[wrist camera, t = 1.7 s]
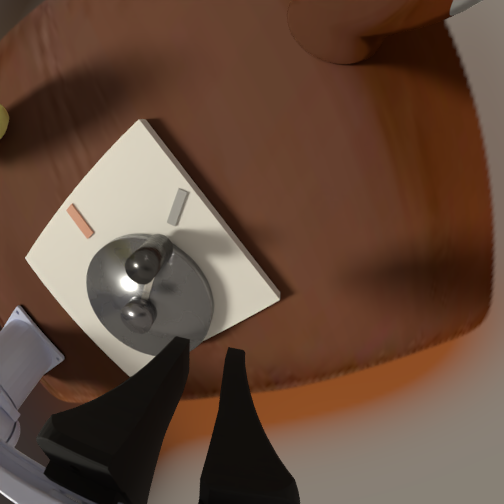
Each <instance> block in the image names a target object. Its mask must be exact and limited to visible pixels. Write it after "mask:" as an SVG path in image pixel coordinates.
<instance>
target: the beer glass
mask: <svg viewBox="0 0 504 504" xmlns="http://www.w3.org/2000/svg"><path fill="white" fill-rule="evenodd" d="M481 1H483V0H291V1H290V3H289V6H288V10H287V23H288V27H289V30H290V32H291V34H292V36H293V37H294V39H295V40H296V42H297V43H298V44H299V45H300V46H301V47H302V48H303V49H304V50H306V51H307V52H308V53H310V54H311V55H313V56H315V57H317V58H319V59H321V60H324V61H327V62H330V63H335V64H353V63H358V62H361V61H364V60H366V59H368V58H369V57H371V56H372V55H373V54H375V53H376V52H377V50H378V49H379V48H380V46H381V45H382V43H383V41H384V39H385V37H386V36H390V35H394V34H398V33H402V32H406V31H410V30H415V29H418V28H421V27H424V26H428V25H431V24H434V23H438V22H440V21H443V20H445V19H447V18H449V17H452V16H454V15H456V14H458V13H460V12H463V11H465V10H467V9H469V8H470V7H472V6H473V5H475V4H477V3H479V2H481Z"/></svg>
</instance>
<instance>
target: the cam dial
mask: <svg viewBox="0 0 504 504" xmlns="http://www.w3.org/2000/svg"><path fill="white" fill-rule="evenodd" d="M86 287H87V294H88V298H89V301H90V304H91V306H92V308H93V311H94V312H95V314H96V316H97V318H98V319H99V320H100V322H101V323H102V325H103V326H104V327H105V328H106V329H107V330H108V331H109V332H110V333H111V334H112V335H113V336H114V337H115V338H117V339H118V340H119V341H120V342H122V343H123V344H125V345H127V346H128V347H130V348H132V349H134V350H136V351H139V352H142V353H145V354H148V355H152V356H156V355H157V354H158V353H159V352H160V351H161V350H162V349H163V348H164V347H165V346H166V345H167V344H168V343H169V342H170V341H171V340H172V339H173V338H174V337H176V336H178V337H182V338H186V339H190V351H191V350H193V349H195V348H196V347H197V346H198V345H199V344H200V343H201V342H202V341H203V340H204V338H205V336H206V335H207V333H208V330H209V327H210V324H211V321H212V318H213V313H214V301H213V295H212V291H211V288H210V285H209V283H208V280H207V278H206V277H205V275H204V273H203V272H202V270H201V269H200V267H199V266H198V265H197V264H196V262H195V261H194V260H193V259H192V258H191V257H190V256H189V255H188V254H186V253H185V252H184V251H183V250H181V249H180V248H179V247H177V246H176V245H174V244H172V242H171V241H170V239H169V238H168V237H166V236H165V235H162V234H154V235H147V234H128V235H123V236H120V237H118V238H115V239H114V240H112V241H110V242H109V243H108V244H106V245H105V246H104V247H102V248H101V249H100V250H99V251H98V252H97V253H96V254H95V255H94V257H93V258H92V260H91V262H90V264H89V267H88V271H87V276H86Z"/></svg>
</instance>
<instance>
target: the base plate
mask: <svg viewBox="0 0 504 504" xmlns="http://www.w3.org/2000/svg"><path fill="white" fill-rule="evenodd" d="M128 234H147V235H154V234H162V235H165V236H166V237H168V238H169V239H170V241H171V242H172V244H174V245H176V246H177V247H179V248H180V249H181V250H183V251H184V252H185V253H186V254H188V255H189V256H190V257H191V258H192V259H193V260H194V261H195V262H196V264H197V265H198V266H199V267H200V269H201V270H202V272H203V273H204V275H205V277H206V278H207V280H208V283H209V285H210V288H211V291H212V295H213V301H214V313H213V318H212V321H211V324H210V327H209V330H208V333H207V335H206V336H205V338H204V340H206V339H208V338H210V337H212V336H214V335H216V334H218V333H220V332H222V331H224V330H226V329H228V328H229V327H231V326H233V325H235V324H237V323H239V322H241V321H243V320H244V319H246V318H248V317H250V316H252V315H254V314H255V313H257V312H259V311H261V310H263V309H265V308H266V307H268V306H270V305H272V304H274V303H275V302H277V301H279V300H280V291H279V290H278V289H277V288H276V286H275V285H274V284H273V283H272V281H271V280H270V279H269V277H268V276H267V275H266V274H265V272H264V271H263V270H262V268H261V267H260V266H259V265H258V263H257V262H256V261H255V259H254V258H253V257H252V256H251V254H250V253H249V252H248V250H247V249H246V248H245V247H244V245H243V244H242V243H241V241H240V240H239V239H238V238H237V236H236V235H235V234H234V233H233V231H232V230H231V229H230V227H229V226H228V225H227V224H226V222H225V221H224V220H223V218H222V217H221V216H220V215H219V213H218V212H217V211H216V209H215V208H214V207H213V206H212V204H211V203H210V202H209V200H208V199H207V198H206V197H205V195H204V194H203V193H202V191H201V190H200V189H199V188H198V186H197V185H196V184H195V182H194V181H193V180H192V178H191V177H190V176H189V175H188V173H187V172H186V171H185V169H184V168H183V167H182V166H181V164H180V163H179V162H178V160H177V159H176V158H175V157H174V155H173V154H172V153H171V151H170V150H169V149H168V148H167V146H166V145H165V144H164V142H163V141H162V140H161V139H160V137H159V136H158V135H157V133H156V132H155V131H154V129H153V128H152V127H151V126H150V124H149V123H148V122H147V120H146V119H139V120H138V121H137V122H136V123H135V124H134V125H133V126H132V127H131V128H130V129H129V130H128V131H127V132H126V133H125V134H124V135H123V136H122V137H121V138H120V139H119V140H118V141H117V142H116V143H115V144H114V145H113V146H112V147H111V148H110V149H109V150H108V151H107V152H106V153H105V155H104V156H103V157H102V158H101V159H100V160H99V161H98V162H97V163H96V165H95V166H94V167H93V168H92V169H91V170H90V171H89V173H88V174H87V175H86V176H85V177H84V178H83V180H82V181H81V182H80V183H79V184H78V186H77V187H76V188H75V189H74V191H73V192H72V193H71V194H70V196H69V197H68V198H67V199H66V201H65V202H64V203H63V205H62V206H61V207H60V208H59V210H58V211H57V212H56V214H55V215H54V217H53V218H52V219H51V221H50V222H49V223H48V225H47V226H46V228H45V229H44V230H43V232H42V233H41V235H40V236H39V238H38V239H37V241H36V242H35V244H34V245H33V247H32V248H31V250H30V251H29V253H28V254H27V256H26V258H25V259H26V260H27V262H28V263H29V264H30V266H31V267H32V269H33V270H34V271H35V273H36V274H37V275H38V277H39V278H40V279H41V281H42V282H43V283H44V285H45V286H46V287H47V288H48V290H49V291H50V292H51V293H52V295H53V296H54V297H55V298H56V300H57V301H58V302H59V303H60V304H61V306H62V307H63V308H64V309H65V310H66V311H67V313H68V314H69V315H70V316H71V317H72V318H73V320H74V321H75V322H76V323H77V324H78V325H79V326H80V327H81V328H82V330H83V331H84V332H85V333H86V334H87V335H88V336H89V337H90V338H91V339H92V340H93V341H94V342H95V343H96V344H97V345H98V346H99V347H100V348H101V349H102V350H103V351H104V352H105V353H106V354H107V355H108V356H109V357H110V358H111V359H112V360H113V361H114V362H115V363H116V364H117V365H118V366H119V367H120V368H121V369H122V370H123V371H124V372H125V373H126V374H127V375H128V376H130V377H131V376H133V375H134V374H135V373H137V372H138V371H139V370H140V369H142V368H143V367H144V366H145V365H146V364H148V363H149V362H150V361H151V360H152V359H153V358H154V357H155V356H152V355H148V354H145V353H142V352H139V351H136V350H134V349H132V348H130V347H128V346H127V345H125V344H123V343H122V342H120V341H119V340H118V339H117V338H115V337H114V336H113V335H112V334H111V333H110V332H109V331H108V330H107V329H106V328H105V327H104V326H103V325H102V323H101V322H100V320H99V319H98V318H97V316H96V314H95V312H94V311H93V308H92V306H91V304H90V301H89V298H88V294H87V287H86V276H87V271H88V267H89V264H90V262H91V260H92V258H93V257H94V255H95V254H96V253H97V252H98V251H99V250H100V249H101V248H102V247H104V246H105V245H106V244H108V243H109V242H110V241H112V240H114V239H115V238H118V237H120V236H123V235H128ZM204 340H203V341H204Z"/></svg>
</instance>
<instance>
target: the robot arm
mask: <svg viewBox="0 0 504 504" xmlns="http://www.w3.org/2000/svg"><path fill="white" fill-rule="evenodd" d="M189 352H190V339H186V338H182V337H178V336H176V337H174V338H173V339H172V340H171V341H170V342H169V343H168V344H167V345H166V346H165V347H164V348H163V349H162V350H161V351H160V352H159V353H158V354H157V355H156V356H155V357H154V358H153V359H152V360H151V361H150V362H149V363H148V364H146V365H145V366H144V367H143V368H142V369H140V370H139V371H138V372H137V373H135V374H134V375H133V376H132V377H130V378H129V379H128V380H126V381H125V382H123V383H122V384H120V385H119V386H117V387H116V388H114V389H113V390H111V391H109V392H107V393H105V394H104V395H102V396H100V397H98V398H96V399H94V400H92V401H90V402H87V403H85V404H83V405H80V406H78V407H76V408H73V409H69V410H66V411H64V412H60V413H57V414H53V415H51V417H50V418H49V419H48V420H47V422H46V423H45V425H44V426H43V428H42V429H41V431H40V433H39V434H38V436H37V443H38V445H39V446H40V448H41V449H42V450H43V451H44V452H45V454H46V455H47V456H48V458H49V459H50V462H49V464H48V465H47V467H44V466H42V465H40V464H39V463H37V462H35V461H34V460H32V459H31V458H29V457H27V456H26V455H24V454H23V453H21V452H20V451H18V450H17V449H15V448H14V447H15V445H16V443H17V441H18V439H19V436H20V424H19V422H18V420H17V419H18V418H19V416H20V413H18V411H17V410H18V409H19V407H20V406H21V404H22V403H23V401H24V400H25V399H26V397H27V396H28V395H29V393H30V392H31V391H32V389H33V388H34V387H35V385H36V384H37V383H38V381H39V380H40V379H41V377H42V376H43V375H44V374H45V373H47V372H48V371H50V370H51V369H52V368H54V367H55V366H56V365H58V364H59V363H61V362H62V361H63V360H64V359H65V358H64V356H63V354H62V353H61V352H60V351H59V350H58V349H57V348H56V347H55V346H54V345H53V344H52V343H51V341H50V340H49V339H48V338H47V337H46V336H45V335H44V333H43V332H42V331H41V330H40V329H39V328H38V326H37V325H36V324H35V323H34V322H33V321H32V319H31V318H30V317H29V316H28V314H27V313H26V312H25V311H24V309H23V308H22V307H21V306H20V305H18V306H17V307H16V308H15V310H14V312H13V313H12V315H11V316H10V318H9V319H8V321H7V323H6V324H5V326H4V327H3V329H2V330H1V331H0V493H2V494H3V495H4V496H5V497H7V498H8V499H9V500H11V501H12V502H14V503H15V504H79V503H78V502H80V503H82V504H147V500H148V496H149V491H150V487H151V483H152V479H153V475H154V470H155V467H156V463H157V460H158V456H159V452H160V449H161V446H162V442H163V439H164V436H165V433H166V430H167V428H168V426H169V423H170V421H171V419H172V416H173V414H174V412H175V409H176V407H177V405H178V402H179V400H180V398H181V395H182V393H183V390H184V387H185V384H186V380H187V377H188V373H189ZM67 496H68V497H67ZM73 499H74V500H75V501H74V500H73ZM76 501H77V502H76ZM198 504H300V497H299V492H298V488H297V485H296V482H295V479H294V478H293V477H292V475H291V474H290V473H289V471H288V470H287V469H286V467H285V466H284V464H283V463H282V462H281V460H280V458H279V457H278V455H277V454H276V452H275V450H274V448H273V447H272V445H271V443H270V441H269V439H268V438H267V436H266V434H265V432H264V429H263V427H262V425H261V423H260V420H259V418H258V415H257V413H256V410H255V407H254V404H253V400H252V397H251V393H250V389H249V385H248V381H247V375H246V368H245V352H244V350H240V349H235V348H230V347H228V351H227V354H226V358H225V364H224V371H223V378H222V386H221V393H220V402H219V410H218V414H217V418H216V422H215V426H214V430H213V434H212V438H211V442H210V445H209V449H208V453H207V456H206V460H205V464H204V467H203V471H202V474H201V478H200V496H199V503H198Z"/></svg>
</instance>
